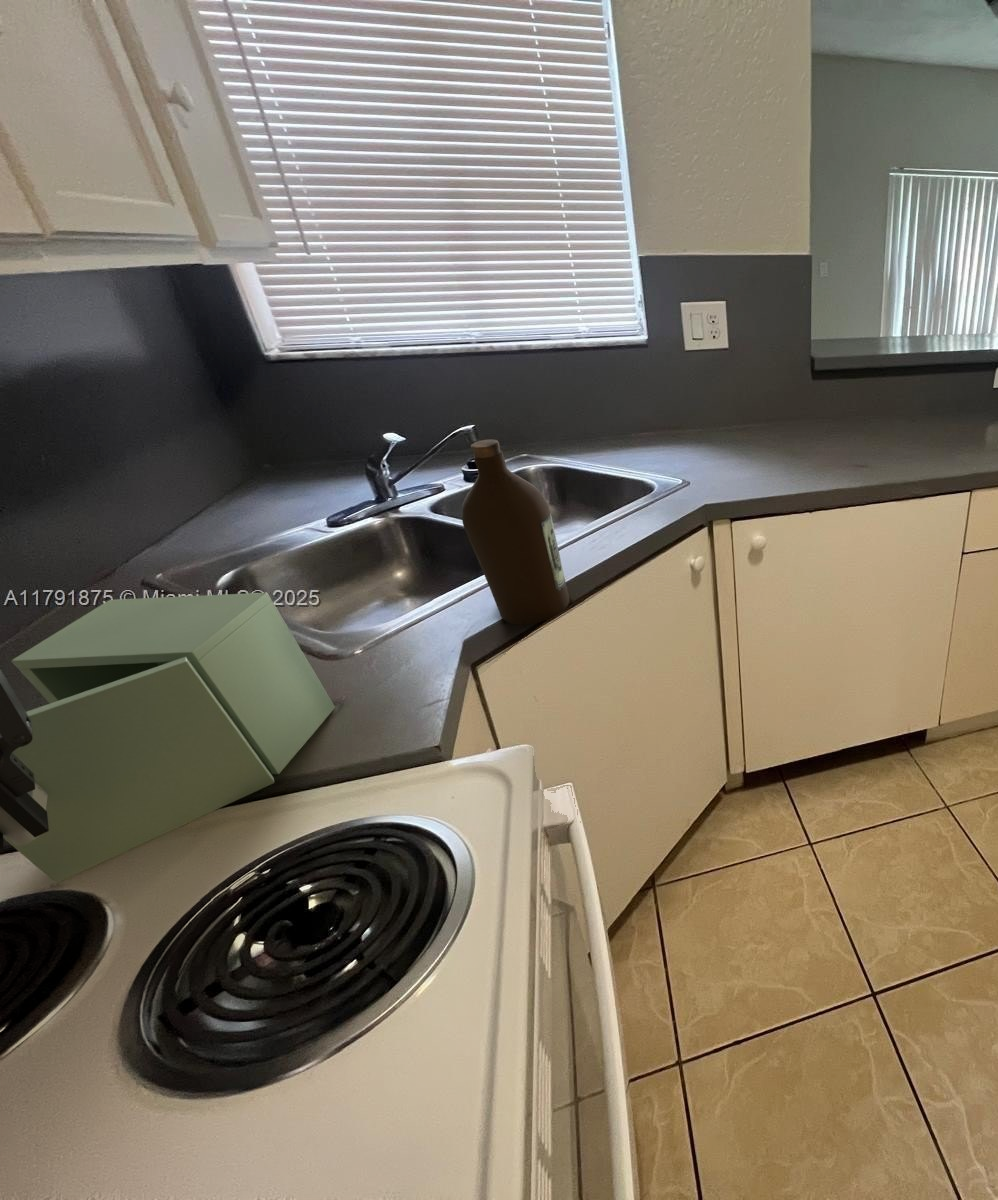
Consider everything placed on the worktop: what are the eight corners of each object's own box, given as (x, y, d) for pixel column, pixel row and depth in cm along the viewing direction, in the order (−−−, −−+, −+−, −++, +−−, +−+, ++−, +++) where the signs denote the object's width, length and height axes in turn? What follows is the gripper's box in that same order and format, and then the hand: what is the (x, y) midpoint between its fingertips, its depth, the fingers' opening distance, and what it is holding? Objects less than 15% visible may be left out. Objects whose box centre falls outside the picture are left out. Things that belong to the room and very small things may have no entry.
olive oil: (498, 640, 85) (434, 464, 71) (497, 602, 93) (439, 437, 79) (579, 621, 88) (532, 449, 74) (571, 585, 96) (527, 424, 83)
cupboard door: (288, 823, 61) (191, 692, 51) (58, 937, 52) (-109, 804, 43) (277, 783, 65) (186, 656, 56) (63, 882, 56) (-88, 750, 47)
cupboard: (283, 781, 65) (191, 652, 56) (128, 788, 65) (9, 660, 56) (339, 714, 74) (267, 592, 64) (201, 720, 73) (109, 599, 64)
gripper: (-79, 503, 41) (140, 753, 54) (-518, 597, 32) (-129, 870, 45) (-87, 537, 37) (152, 801, 50) (-597, 658, 28) (-142, 940, 41)
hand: (18, 833), depth 47 cm, fingers closed on cupboard door, 2 cm apart
